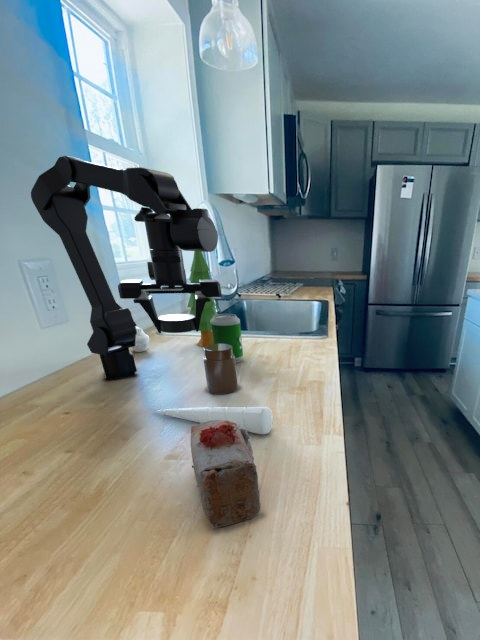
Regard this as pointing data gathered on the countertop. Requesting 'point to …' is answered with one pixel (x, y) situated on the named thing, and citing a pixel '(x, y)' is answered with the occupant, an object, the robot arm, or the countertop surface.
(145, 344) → the garlic bulb
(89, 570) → the countertop surface
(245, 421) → the unicorn horn
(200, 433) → the food item
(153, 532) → the countertop surface
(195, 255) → the decorative tree
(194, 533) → the countertop surface
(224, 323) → the soda can
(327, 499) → the countertop surface
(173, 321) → the jar lid
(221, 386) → the coffee jar
